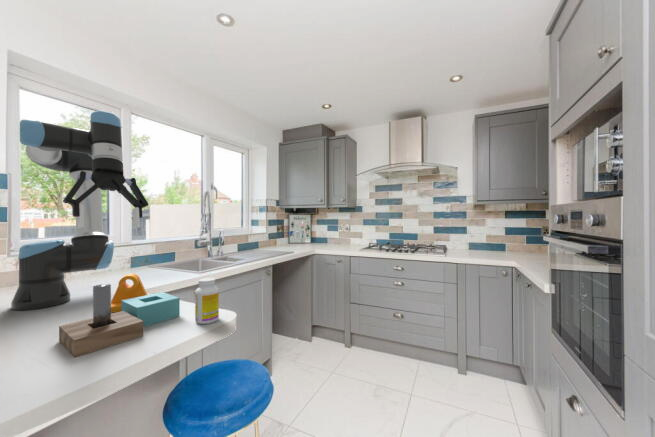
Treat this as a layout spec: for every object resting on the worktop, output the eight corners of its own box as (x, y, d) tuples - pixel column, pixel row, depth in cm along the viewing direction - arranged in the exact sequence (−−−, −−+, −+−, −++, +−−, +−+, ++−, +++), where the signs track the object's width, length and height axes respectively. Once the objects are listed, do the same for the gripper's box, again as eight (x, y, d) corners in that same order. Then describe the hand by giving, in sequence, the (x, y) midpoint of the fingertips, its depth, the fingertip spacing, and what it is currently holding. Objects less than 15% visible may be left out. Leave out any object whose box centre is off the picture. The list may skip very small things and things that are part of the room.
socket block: (59, 341, 70) (59, 326, 70) (123, 324, 82) (123, 310, 81) (74, 357, 62) (74, 339, 62) (143, 335, 73) (143, 321, 73)
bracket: (106, 315, 89) (106, 279, 89) (112, 309, 95) (112, 274, 95) (145, 310, 94) (145, 276, 94) (148, 304, 100) (148, 272, 100)
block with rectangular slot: (121, 319, 85) (121, 300, 85) (162, 309, 95) (162, 291, 95) (137, 328, 78) (136, 307, 78) (179, 316, 88) (179, 297, 88)
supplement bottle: (223, 318, 86) (223, 278, 86) (207, 326, 80) (207, 282, 80) (206, 315, 88) (206, 276, 88) (190, 323, 82) (190, 281, 82)
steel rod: (91, 339, 71) (91, 286, 71) (108, 334, 74) (108, 283, 74) (95, 342, 69) (95, 288, 69) (113, 337, 72) (112, 285, 72)
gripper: (54, 146, 72) (55, 225, 69) (157, 164, 92) (161, 225, 89) (48, 156, 76) (48, 230, 73) (147, 171, 96) (151, 230, 93)
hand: (110, 228), depth 81 cm, fingers open, 13 cm apart
